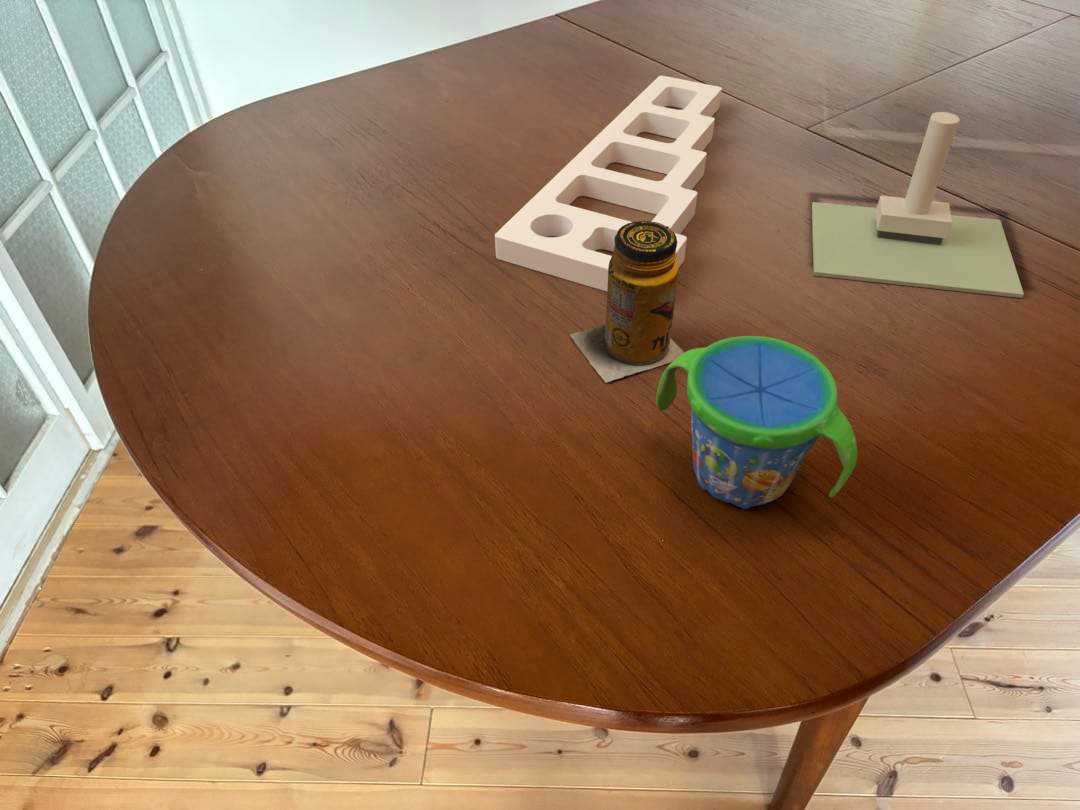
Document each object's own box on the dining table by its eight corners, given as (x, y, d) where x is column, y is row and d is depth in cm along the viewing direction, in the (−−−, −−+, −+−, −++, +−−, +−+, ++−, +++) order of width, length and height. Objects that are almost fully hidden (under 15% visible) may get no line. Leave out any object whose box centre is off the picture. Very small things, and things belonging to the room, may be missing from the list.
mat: (998, 223, 94) (1000, 219, 94) (1022, 298, 84) (1024, 294, 84) (811, 205, 97) (812, 201, 97) (813, 275, 88) (814, 271, 87)
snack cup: (863, 491, 67) (900, 396, 60) (788, 572, 61) (818, 477, 54) (702, 396, 75) (717, 302, 68) (622, 460, 69) (630, 365, 62)
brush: (940, 227, 93) (981, 112, 84) (943, 247, 90) (986, 130, 81) (873, 219, 94) (906, 105, 85) (874, 238, 91) (908, 123, 82)
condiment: (687, 357, 79) (702, 246, 70) (605, 384, 76) (611, 272, 68) (647, 313, 83) (657, 204, 75) (569, 337, 81) (571, 227, 73)
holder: (658, 94, 119) (660, 75, 117) (785, 120, 113) (789, 100, 111) (494, 257, 91) (493, 236, 89) (651, 305, 84) (654, 282, 83)
